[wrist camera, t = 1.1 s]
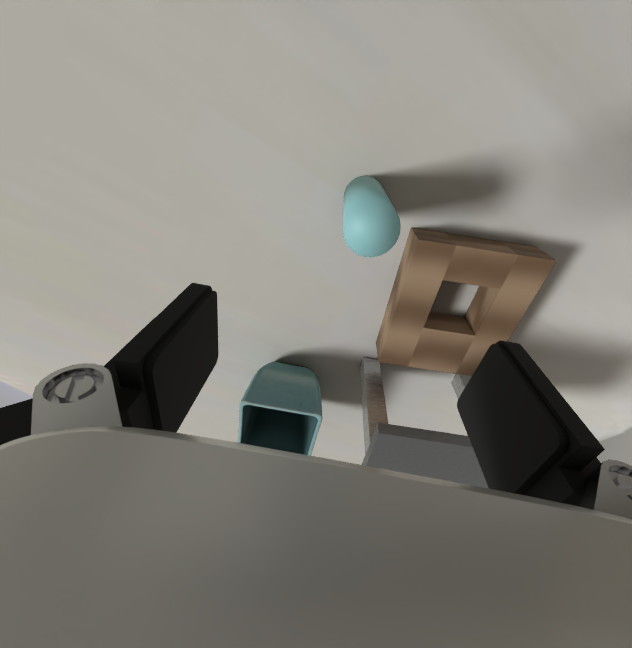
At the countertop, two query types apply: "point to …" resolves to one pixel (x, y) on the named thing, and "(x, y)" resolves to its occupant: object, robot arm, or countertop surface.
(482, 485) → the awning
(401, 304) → the socket
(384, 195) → the peg
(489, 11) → the countertop surface
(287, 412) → the flower pot
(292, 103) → the countertop surface
